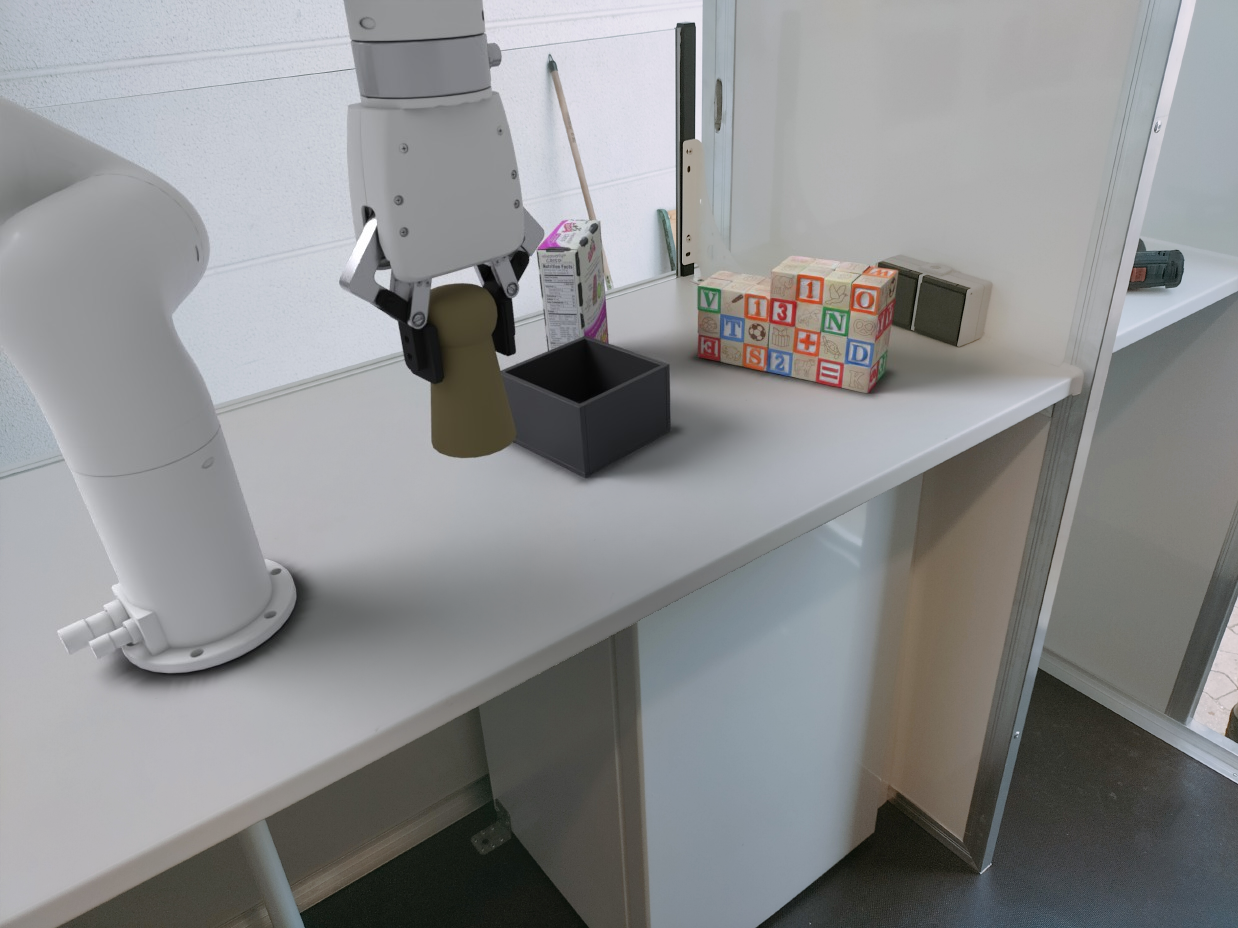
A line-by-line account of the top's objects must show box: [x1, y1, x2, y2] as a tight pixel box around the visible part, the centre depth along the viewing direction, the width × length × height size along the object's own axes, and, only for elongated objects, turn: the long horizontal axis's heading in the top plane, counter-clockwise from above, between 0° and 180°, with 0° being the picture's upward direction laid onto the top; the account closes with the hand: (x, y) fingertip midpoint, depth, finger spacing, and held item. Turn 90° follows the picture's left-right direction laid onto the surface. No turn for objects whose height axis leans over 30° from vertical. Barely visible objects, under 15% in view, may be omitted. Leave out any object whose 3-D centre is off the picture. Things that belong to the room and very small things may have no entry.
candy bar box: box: [535, 219, 610, 351], centre depth 99 cm, size 11×5×16 cm, turn 168°
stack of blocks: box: [696, 255, 899, 394], centre depth 97 cm, size 21×6×12 cm, turn 58°
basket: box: [500, 336, 672, 479], centre depth 86 cm, size 12×12×8 cm
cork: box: [427, 282, 516, 459], centre depth 58 cm, size 6×6×11 cm
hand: (463, 361), depth 58 cm, fingers closed on cork, 5 cm apart
